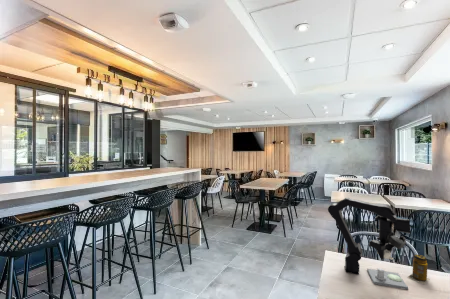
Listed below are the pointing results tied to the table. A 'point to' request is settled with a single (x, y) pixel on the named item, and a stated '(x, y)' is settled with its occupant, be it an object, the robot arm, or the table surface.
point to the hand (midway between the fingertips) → (384, 257)
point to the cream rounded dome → (387, 254)
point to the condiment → (419, 269)
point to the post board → (386, 278)
